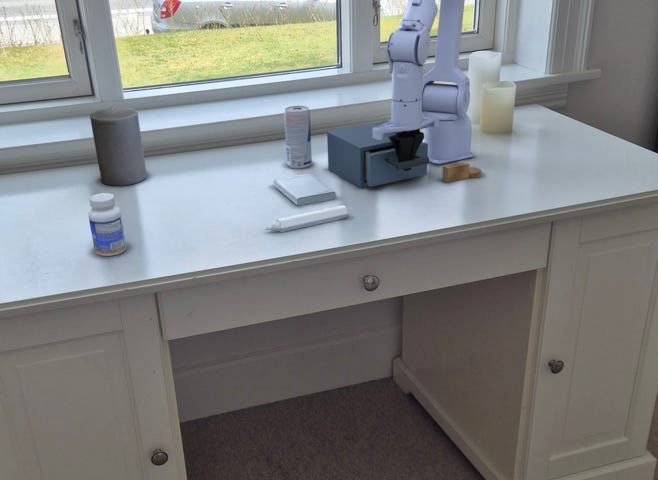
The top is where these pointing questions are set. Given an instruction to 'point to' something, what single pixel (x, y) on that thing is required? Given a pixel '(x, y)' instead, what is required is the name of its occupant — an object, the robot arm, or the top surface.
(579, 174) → the top surface
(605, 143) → the top surface
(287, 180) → the hard drive
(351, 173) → the cabinet
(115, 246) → the pill bottle
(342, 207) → the marker
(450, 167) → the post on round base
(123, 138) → the pillar candle
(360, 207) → the top surface
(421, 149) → the drawer
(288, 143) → the energy drink
